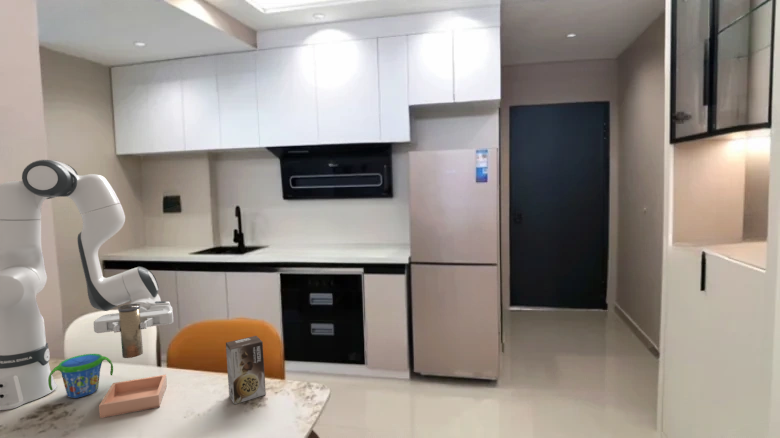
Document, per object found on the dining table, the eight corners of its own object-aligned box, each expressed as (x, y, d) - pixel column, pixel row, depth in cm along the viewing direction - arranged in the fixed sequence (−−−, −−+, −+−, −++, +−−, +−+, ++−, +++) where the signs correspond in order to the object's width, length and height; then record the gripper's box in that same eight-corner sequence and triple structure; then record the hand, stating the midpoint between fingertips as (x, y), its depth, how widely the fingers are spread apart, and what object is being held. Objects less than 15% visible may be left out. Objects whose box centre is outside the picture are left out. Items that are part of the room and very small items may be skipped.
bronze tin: (119, 359, 115) (115, 310, 114) (124, 352, 120) (120, 305, 119) (141, 356, 117) (137, 307, 116) (145, 349, 122) (141, 302, 121)
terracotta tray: (99, 418, 110) (98, 405, 110) (113, 394, 123) (113, 383, 123) (159, 407, 115) (158, 394, 115) (166, 385, 128) (166, 374, 128)
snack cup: (114, 379, 133) (112, 348, 133) (114, 392, 125) (111, 359, 124) (52, 393, 125) (49, 360, 124) (47, 408, 116) (44, 373, 115)
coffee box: (259, 386, 126) (257, 334, 125) (266, 395, 120) (263, 341, 119) (228, 396, 121) (225, 341, 119) (233, 405, 115) (230, 348, 114)
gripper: (100, 308, 126) (85, 322, 113) (175, 300, 133) (169, 312, 120) (101, 329, 126) (86, 344, 113) (176, 319, 134) (170, 333, 121)
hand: (130, 327), depth 117 cm, fingers closed on bronze tin, 5 cm apart
